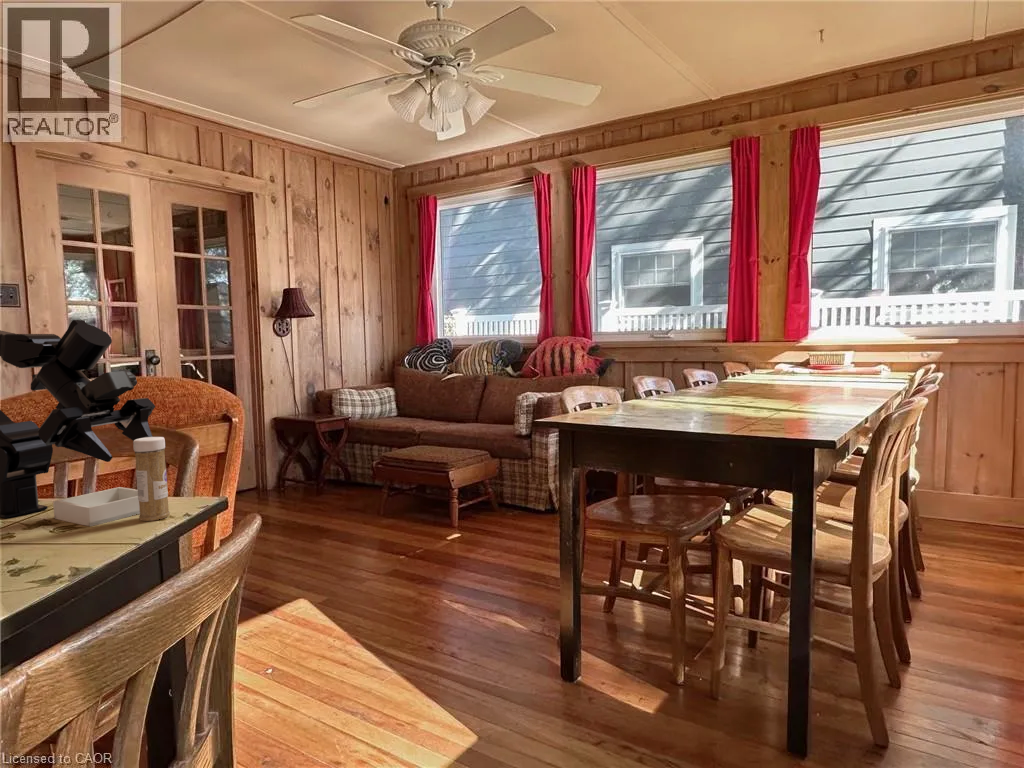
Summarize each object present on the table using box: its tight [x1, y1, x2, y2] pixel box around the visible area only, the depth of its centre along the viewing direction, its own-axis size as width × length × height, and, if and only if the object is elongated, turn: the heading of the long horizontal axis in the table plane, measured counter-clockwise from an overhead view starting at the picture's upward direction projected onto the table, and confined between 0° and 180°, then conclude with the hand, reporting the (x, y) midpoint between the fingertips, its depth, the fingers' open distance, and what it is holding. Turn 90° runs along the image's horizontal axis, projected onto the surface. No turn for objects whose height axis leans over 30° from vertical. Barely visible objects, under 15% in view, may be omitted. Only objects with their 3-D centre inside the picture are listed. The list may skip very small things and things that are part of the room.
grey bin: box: [52, 486, 140, 527], centre depth 109 cm, size 11×11×3 cm
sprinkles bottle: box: [132, 436, 171, 522], centre depth 106 cm, size 5×5×14 cm
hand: (133, 454), depth 106 cm, fingers open, 9 cm apart
